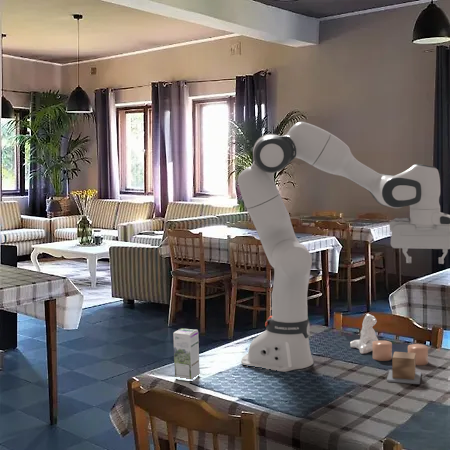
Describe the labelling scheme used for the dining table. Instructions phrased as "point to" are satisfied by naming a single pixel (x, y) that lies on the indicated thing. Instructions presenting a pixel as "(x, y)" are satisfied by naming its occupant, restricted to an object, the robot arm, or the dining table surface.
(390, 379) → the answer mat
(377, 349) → the rounded tan cylinder
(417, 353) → the peach rounded cylinder
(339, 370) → the dining table surface
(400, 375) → the walnut cube
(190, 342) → the syrup box
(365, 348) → the seated beast figurine
